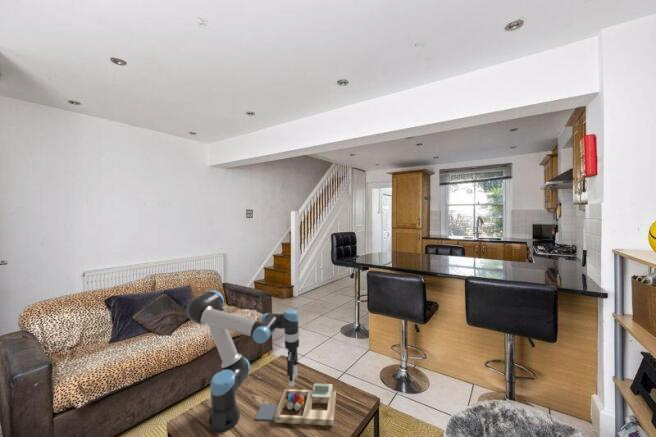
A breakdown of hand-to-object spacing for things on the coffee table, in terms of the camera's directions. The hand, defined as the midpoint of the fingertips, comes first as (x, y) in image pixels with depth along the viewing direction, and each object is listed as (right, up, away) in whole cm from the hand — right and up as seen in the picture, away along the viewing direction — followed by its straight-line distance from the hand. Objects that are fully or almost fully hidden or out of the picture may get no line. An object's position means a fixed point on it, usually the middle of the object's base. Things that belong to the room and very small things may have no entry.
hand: (293, 381), depth 148 cm
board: (+8, -15, +3) cm, 17 cm away
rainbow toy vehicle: (+1, -15, +2) cm, 16 cm away
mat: (-13, -15, -2) cm, 20 cm away
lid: (+15, -11, +9) cm, 21 cm away
